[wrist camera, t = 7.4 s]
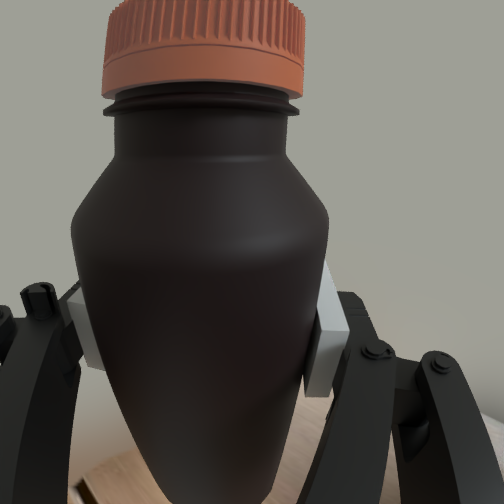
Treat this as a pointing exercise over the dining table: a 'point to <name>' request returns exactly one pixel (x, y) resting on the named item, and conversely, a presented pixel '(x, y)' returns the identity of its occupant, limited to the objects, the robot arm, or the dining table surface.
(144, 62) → the vinegar
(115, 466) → the dining table surface
